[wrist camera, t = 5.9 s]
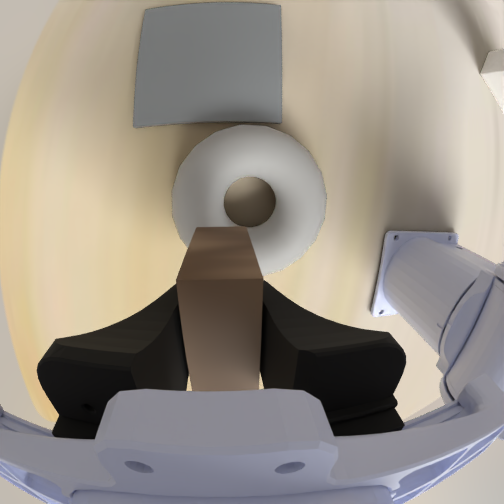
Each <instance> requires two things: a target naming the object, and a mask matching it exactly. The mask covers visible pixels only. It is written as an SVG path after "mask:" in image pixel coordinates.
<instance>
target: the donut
mask: <svg viewBox="0 0 504 504" xmlns="http://www.w3.org/2000/svg"><path fill="white" fill-rule="evenodd" d="M244 177H257V178H260V179H262V180H264V181H265V182H267V183H268V184H269V185H270V186H271V188H272V189H273V191H274V193H275V197H276V206H275V209H274V211H273V214H272V215H271V216H270V218H269V219H268V220H267V221H266V222H264V223H263V224H261V225H259V226H255V227H247V230H248V233H249V236H250V239H251V242H252V245H253V248H254V251H255V254H256V257H257V260H258V264H259V267H260V270H261V273H262V276H265V275H268V274H271V273H275V272H278V271H281V270H283V269H285V268H286V267H288V266H289V265H291V264H292V263H294V262H295V261H297V260H298V259H300V258H301V257H302V256H303V255H304V253H305V252H306V251H307V250H308V249H309V247H310V246H311V245H312V244H313V243H314V241H315V240H316V238H317V236H318V233H319V231H320V229H321V226H322V224H323V222H324V219H325V210H326V199H327V194H326V189H325V185H324V180H323V176H322V172H321V170H320V169H319V167H318V165H317V164H316V162H315V160H314V159H313V157H312V155H311V154H310V152H309V151H308V150H307V149H306V148H305V147H303V146H302V145H301V144H300V143H299V142H298V141H296V140H295V139H294V138H293V137H292V136H290V135H288V134H285V133H283V132H280V131H278V130H275V129H273V128H270V127H268V126H258V125H238V126H234V127H230V128H227V129H223V130H220V131H216V132H215V133H213V134H212V135H210V136H209V137H207V138H206V139H204V140H203V141H201V142H200V143H199V144H197V145H196V146H195V147H194V148H193V149H192V151H191V152H190V153H189V155H188V156H187V157H186V159H185V160H184V161H183V163H182V164H181V165H180V167H179V170H178V173H177V176H176V179H175V182H174V186H173V189H172V216H173V219H174V222H175V225H176V228H177V231H178V233H179V236H180V239H181V240H182V241H183V243H184V244H185V245H186V246H187V248H188V247H189V244H190V242H191V239H192V237H193V234H194V232H195V229H196V227H233V226H239V225H236V224H235V223H234V222H232V221H231V220H230V219H229V217H228V216H227V214H226V212H225V208H224V197H225V194H226V191H227V189H228V188H229V187H230V185H231V184H232V183H234V182H235V181H237V180H238V179H240V178H244Z"/></svg>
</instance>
